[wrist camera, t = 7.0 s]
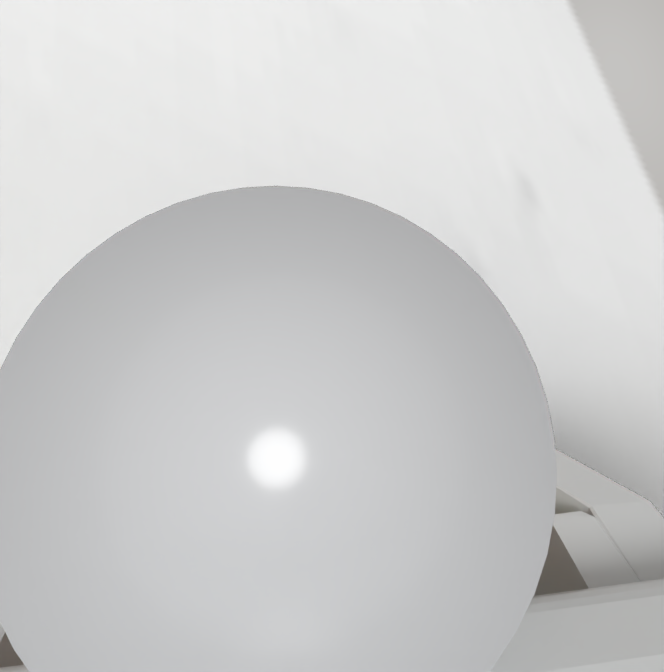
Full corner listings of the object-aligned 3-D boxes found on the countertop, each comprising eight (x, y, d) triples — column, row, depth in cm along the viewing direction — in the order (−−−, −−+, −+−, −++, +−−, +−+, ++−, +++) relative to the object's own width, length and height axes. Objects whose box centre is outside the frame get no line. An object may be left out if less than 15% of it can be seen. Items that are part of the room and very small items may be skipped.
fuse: (388, 497, 15) (651, 660, 3) (253, 539, 15) (13, 898, 3) (349, 366, 16) (447, 138, 4) (221, 402, 16) (-57, 255, 4)
